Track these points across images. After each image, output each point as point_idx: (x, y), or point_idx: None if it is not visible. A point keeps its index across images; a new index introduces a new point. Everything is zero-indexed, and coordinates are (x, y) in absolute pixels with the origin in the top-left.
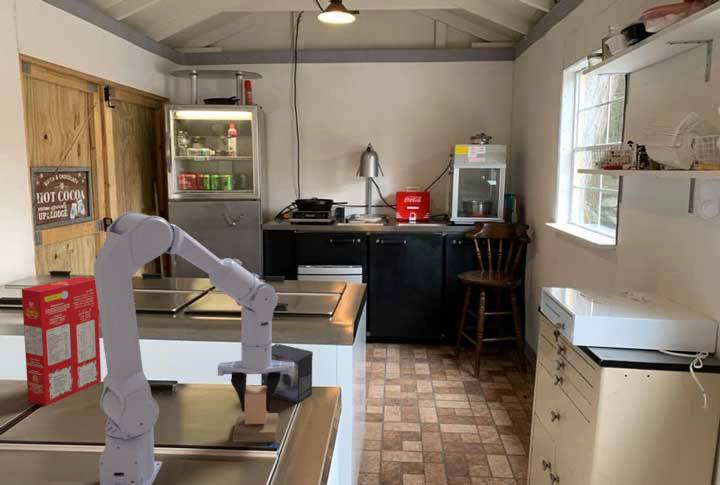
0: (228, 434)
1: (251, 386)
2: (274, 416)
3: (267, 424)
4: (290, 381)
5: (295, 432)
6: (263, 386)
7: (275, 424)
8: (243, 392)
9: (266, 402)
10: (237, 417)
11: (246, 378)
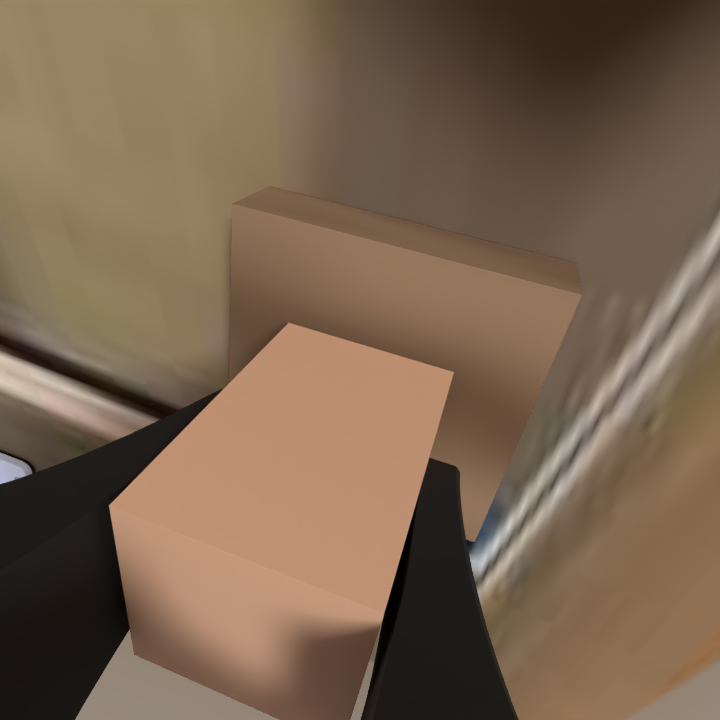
0: (224, 324)
1: (165, 536)
2: (526, 348)
3: (441, 442)
4: None
5: (652, 445)
6: (323, 606)
7: (499, 462)
8: (110, 650)
9: (384, 614)
10: (231, 273)
11: (3, 567)
